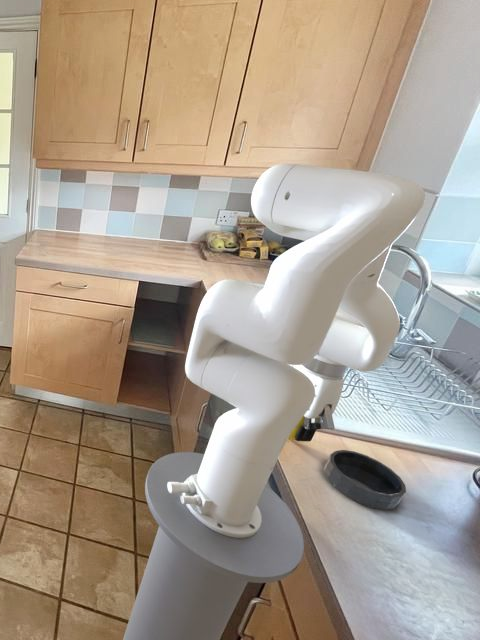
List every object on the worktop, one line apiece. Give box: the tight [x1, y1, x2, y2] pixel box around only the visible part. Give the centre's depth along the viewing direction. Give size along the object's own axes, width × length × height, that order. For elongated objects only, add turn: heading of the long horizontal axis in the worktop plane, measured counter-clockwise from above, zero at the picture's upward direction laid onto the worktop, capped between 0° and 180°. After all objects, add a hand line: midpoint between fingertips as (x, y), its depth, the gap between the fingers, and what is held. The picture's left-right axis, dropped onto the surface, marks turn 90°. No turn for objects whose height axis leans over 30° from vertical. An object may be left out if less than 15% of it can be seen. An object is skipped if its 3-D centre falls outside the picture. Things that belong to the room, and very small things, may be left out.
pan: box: [323, 449, 407, 511], centre depth 82 cm, size 11×11×4 cm
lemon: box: [287, 416, 305, 441], centre depth 92 cm, size 6×6×8 cm
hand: (292, 429), depth 92 cm, fingers closed on lemon, 5 cm apart
